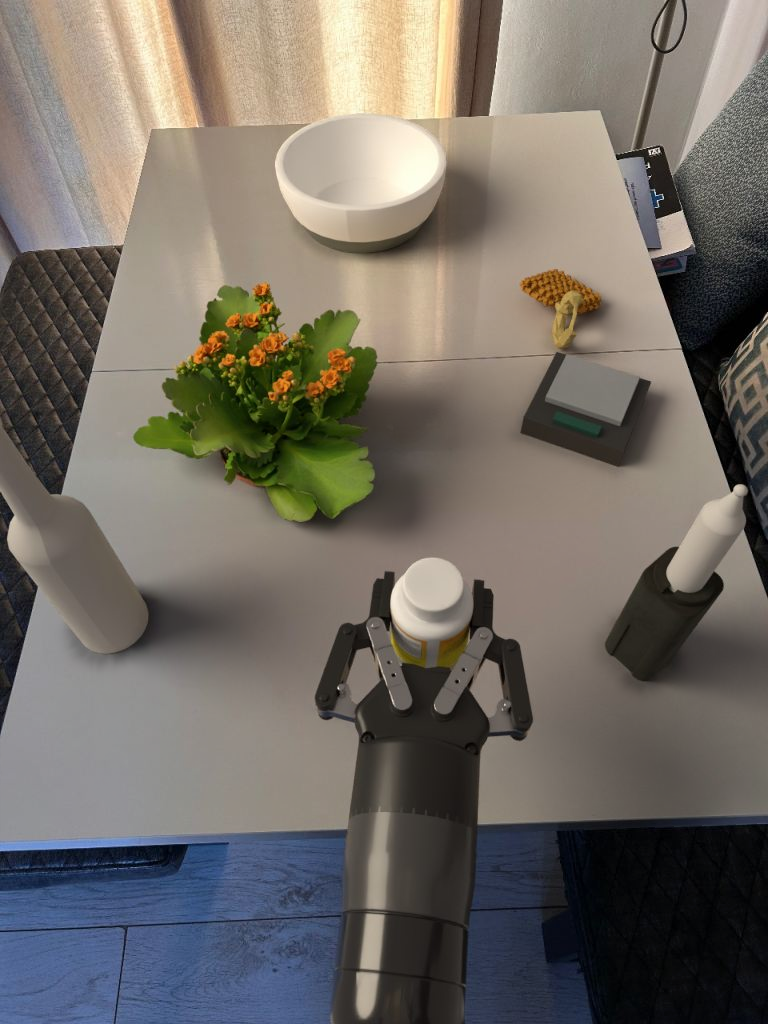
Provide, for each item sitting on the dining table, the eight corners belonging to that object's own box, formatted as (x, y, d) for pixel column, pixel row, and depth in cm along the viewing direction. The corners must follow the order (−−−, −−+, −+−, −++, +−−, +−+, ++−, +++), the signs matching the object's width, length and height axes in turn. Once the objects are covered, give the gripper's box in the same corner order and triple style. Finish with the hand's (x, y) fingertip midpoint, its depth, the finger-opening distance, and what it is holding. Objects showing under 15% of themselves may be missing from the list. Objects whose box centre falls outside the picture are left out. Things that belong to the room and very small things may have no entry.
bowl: (451, 174, 112) (455, 118, 105) (434, 273, 99) (437, 216, 92) (300, 163, 114) (294, 107, 107) (266, 259, 101) (256, 202, 95)
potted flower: (127, 540, 77) (66, 426, 62) (167, 370, 90) (124, 243, 76) (376, 540, 76) (372, 425, 62) (379, 369, 90) (376, 242, 75)
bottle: (76, 599, 73) (-73, 399, 50) (145, 583, 74) (31, 379, 51) (79, 661, 70) (-80, 477, 46) (152, 643, 70) (32, 454, 47)
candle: (599, 645, 70) (685, 483, 49) (635, 612, 72) (733, 443, 51) (643, 686, 68) (753, 534, 47) (679, 651, 69) (800, 490, 49)
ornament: (525, 239, 95) (538, 297, 84) (604, 258, 96) (628, 318, 85) (507, 288, 100) (518, 350, 89) (583, 305, 101) (603, 368, 90)
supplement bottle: (466, 620, 59) (479, 549, 50) (463, 688, 55) (476, 626, 47) (394, 613, 59) (394, 542, 51) (387, 681, 56) (386, 618, 47)
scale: (645, 397, 87) (653, 376, 84) (617, 466, 81) (625, 446, 78) (552, 367, 90) (557, 346, 87) (520, 432, 84) (524, 412, 81)
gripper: (547, 834, 41) (545, 562, 50) (281, 804, 42) (328, 543, 51) (527, 861, 47) (528, 614, 56) (296, 834, 48) (336, 596, 57)
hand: (433, 581), depth 54 cm, fingers closed on supplement bottle, 5 cm apart
